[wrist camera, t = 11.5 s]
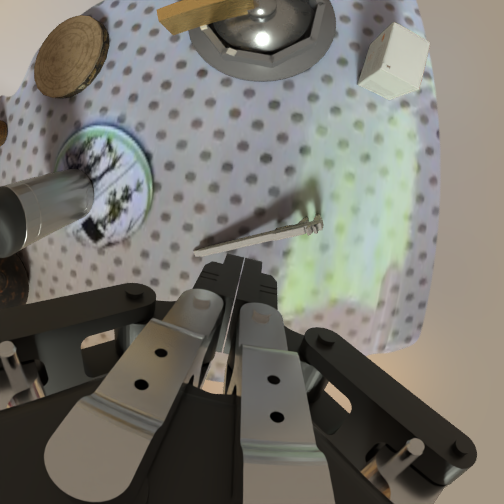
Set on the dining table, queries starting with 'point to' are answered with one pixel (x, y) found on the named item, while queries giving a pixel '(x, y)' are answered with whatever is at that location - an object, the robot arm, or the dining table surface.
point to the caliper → (266, 236)
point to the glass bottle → (13, 282)
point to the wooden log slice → (71, 57)
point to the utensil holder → (3, 132)
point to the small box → (394, 62)
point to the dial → (242, 21)
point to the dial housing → (272, 64)
